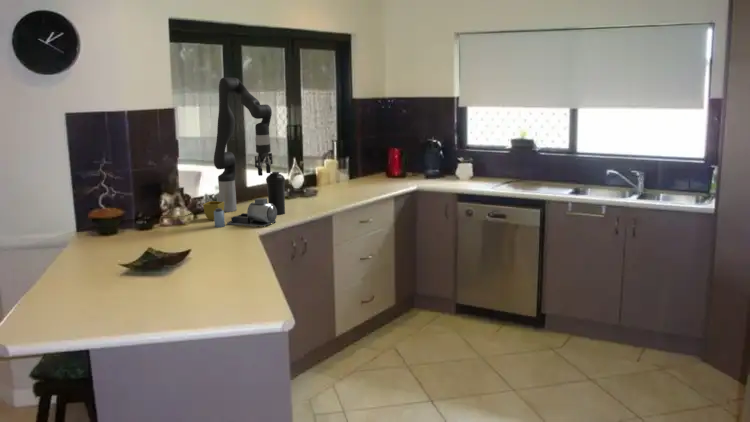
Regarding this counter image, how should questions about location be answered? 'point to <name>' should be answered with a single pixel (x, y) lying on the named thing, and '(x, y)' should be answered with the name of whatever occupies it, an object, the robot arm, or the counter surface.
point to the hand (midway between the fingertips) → (264, 174)
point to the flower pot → (212, 208)
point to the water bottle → (276, 191)
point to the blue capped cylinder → (219, 217)
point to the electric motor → (256, 214)
